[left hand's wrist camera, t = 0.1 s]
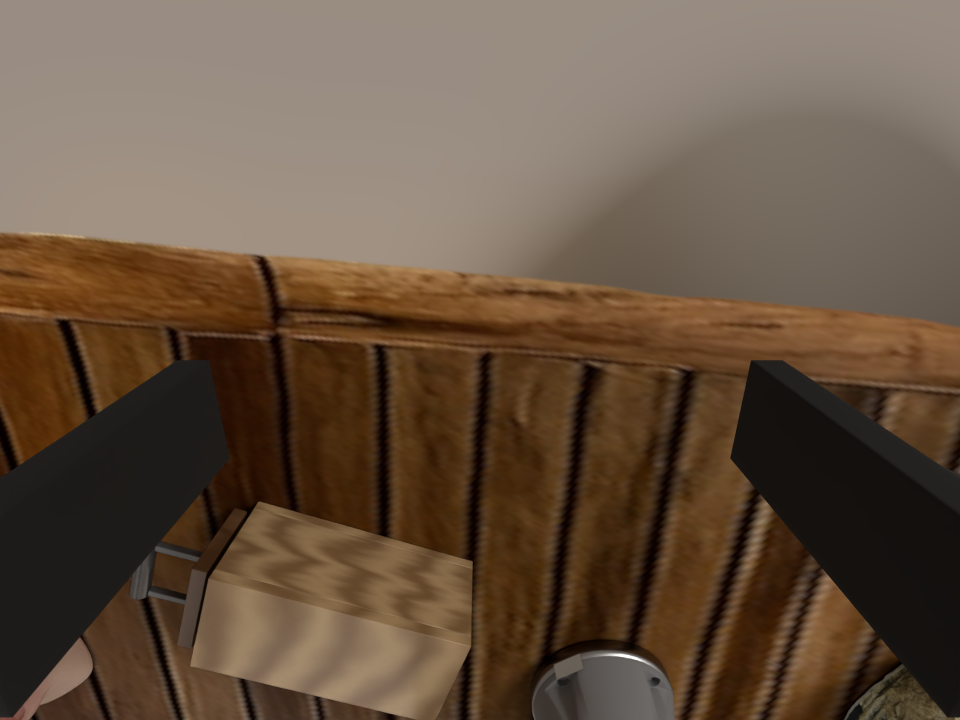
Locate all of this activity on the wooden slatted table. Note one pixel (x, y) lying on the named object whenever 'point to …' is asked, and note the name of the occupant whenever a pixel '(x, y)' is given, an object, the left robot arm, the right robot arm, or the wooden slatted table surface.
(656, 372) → the wooden slatted table surface
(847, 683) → the wooden slatted table surface
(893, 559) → the left robot arm
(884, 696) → the fossil
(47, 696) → the anatomical model
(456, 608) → the cabinet
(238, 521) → the drawer
